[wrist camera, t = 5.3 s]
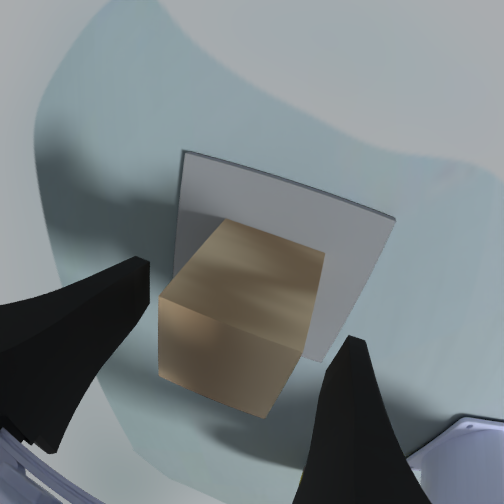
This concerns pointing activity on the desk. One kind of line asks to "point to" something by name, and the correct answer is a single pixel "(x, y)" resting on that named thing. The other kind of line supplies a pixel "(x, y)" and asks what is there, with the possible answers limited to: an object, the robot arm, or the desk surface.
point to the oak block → (238, 316)
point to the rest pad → (286, 231)
